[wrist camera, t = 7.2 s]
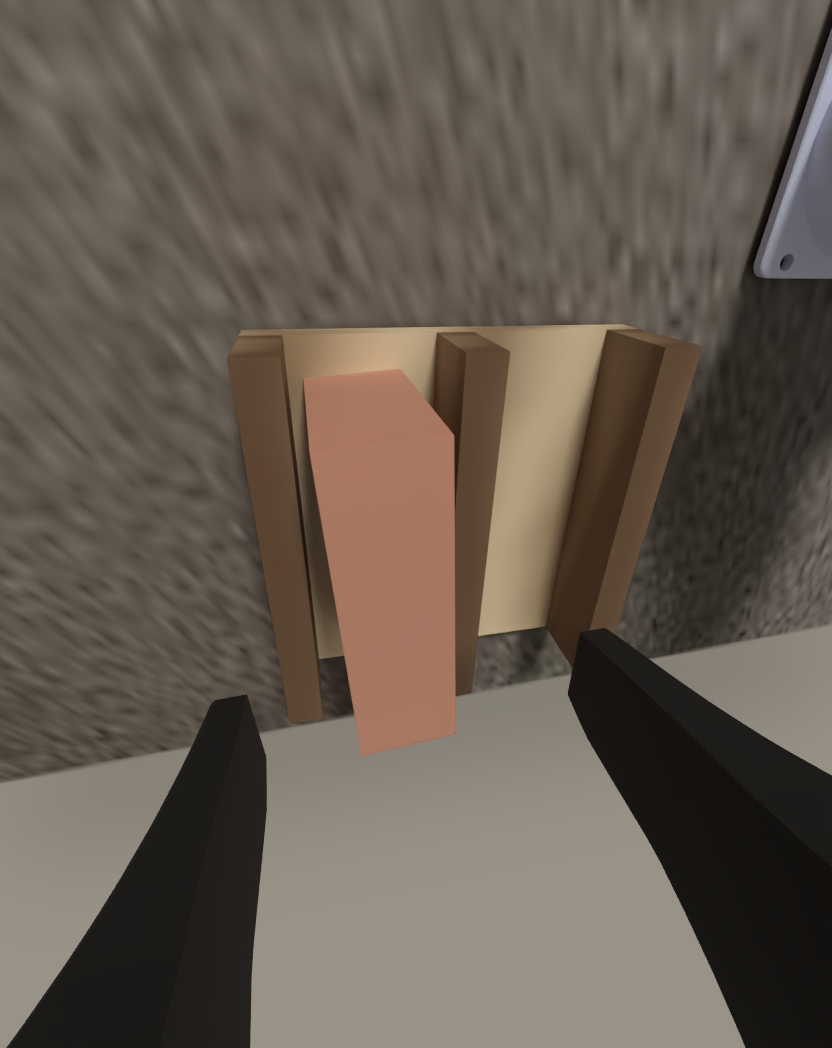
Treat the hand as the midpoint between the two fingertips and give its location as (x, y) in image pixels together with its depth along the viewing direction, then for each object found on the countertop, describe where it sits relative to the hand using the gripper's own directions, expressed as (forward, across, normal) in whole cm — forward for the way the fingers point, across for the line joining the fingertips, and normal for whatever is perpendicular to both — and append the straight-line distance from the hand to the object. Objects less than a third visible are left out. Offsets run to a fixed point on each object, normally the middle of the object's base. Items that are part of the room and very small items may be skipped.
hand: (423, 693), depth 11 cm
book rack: (+9, -3, +1) cm, 10 cm away
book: (+8, 0, 0) cm, 8 cm away
